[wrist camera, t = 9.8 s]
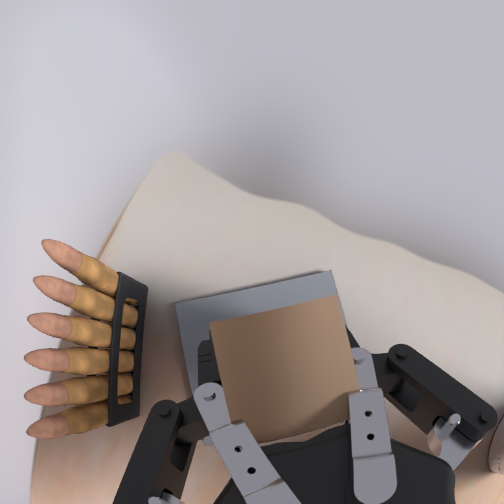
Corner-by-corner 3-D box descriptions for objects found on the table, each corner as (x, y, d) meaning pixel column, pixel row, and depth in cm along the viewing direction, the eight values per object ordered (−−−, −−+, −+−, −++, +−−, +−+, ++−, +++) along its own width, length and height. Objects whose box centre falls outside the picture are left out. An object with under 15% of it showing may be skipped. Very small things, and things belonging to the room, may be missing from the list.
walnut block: (296, 322, 18) (336, 293, 10) (310, 385, 17) (364, 413, 8) (230, 337, 18) (208, 322, 9) (244, 401, 17) (237, 447, 8)
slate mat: (328, 272, 22) (331, 270, 21) (361, 405, 18) (364, 406, 17) (177, 305, 21) (174, 303, 20) (207, 442, 17) (205, 445, 17)
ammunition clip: (128, 284, 22) (35, 222, 10) (148, 286, 22) (61, 221, 10) (118, 411, 18) (16, 443, 7) (139, 416, 18) (43, 458, 7)
